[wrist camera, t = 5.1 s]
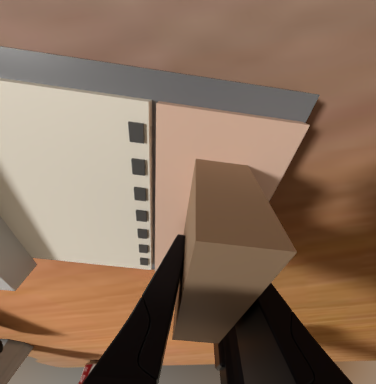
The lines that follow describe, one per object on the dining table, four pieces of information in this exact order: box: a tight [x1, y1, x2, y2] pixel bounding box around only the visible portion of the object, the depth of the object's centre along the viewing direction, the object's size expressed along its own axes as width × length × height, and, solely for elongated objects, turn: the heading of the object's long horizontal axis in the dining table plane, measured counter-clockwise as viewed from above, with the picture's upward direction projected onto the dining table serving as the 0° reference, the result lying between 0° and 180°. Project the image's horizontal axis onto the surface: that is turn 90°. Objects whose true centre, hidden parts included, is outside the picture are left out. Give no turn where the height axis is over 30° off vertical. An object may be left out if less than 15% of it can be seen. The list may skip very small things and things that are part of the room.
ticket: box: [0, 78, 153, 270], centre depth 10 cm, size 12×12×1 cm
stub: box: [155, 101, 310, 343], centre depth 8 cm, size 6×12×5 cm, turn 173°
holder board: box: [0, 46, 319, 291], centre depth 9 cm, size 20×14×4 cm
